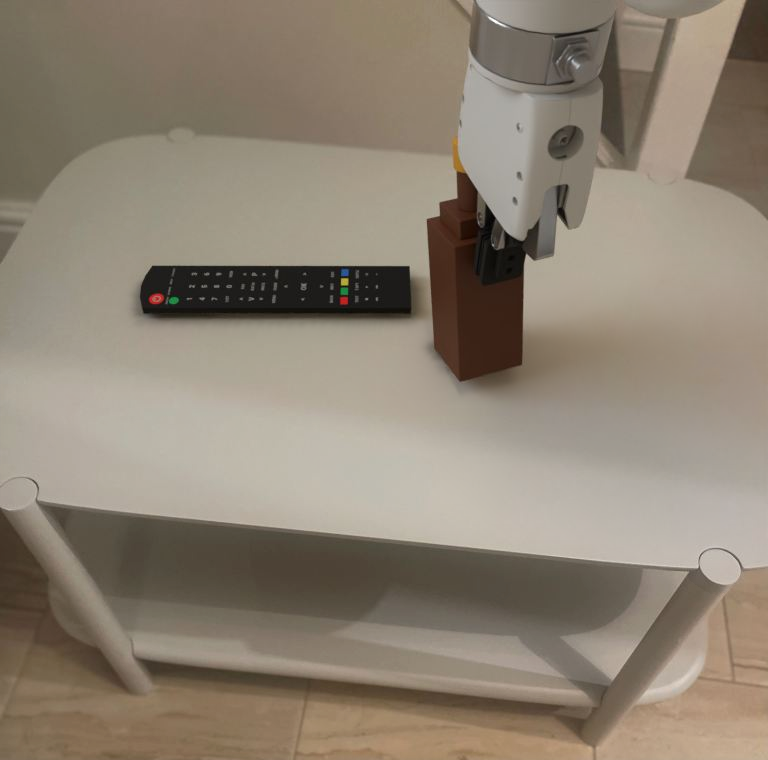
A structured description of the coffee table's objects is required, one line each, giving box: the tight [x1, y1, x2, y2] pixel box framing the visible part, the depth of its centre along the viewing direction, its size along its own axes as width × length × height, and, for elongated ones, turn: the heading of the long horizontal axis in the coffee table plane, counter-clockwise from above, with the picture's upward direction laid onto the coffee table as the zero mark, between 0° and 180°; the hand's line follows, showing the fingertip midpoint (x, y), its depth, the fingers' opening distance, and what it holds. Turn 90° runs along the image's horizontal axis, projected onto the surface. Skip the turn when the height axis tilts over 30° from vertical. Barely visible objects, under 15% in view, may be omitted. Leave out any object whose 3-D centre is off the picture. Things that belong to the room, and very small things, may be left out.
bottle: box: [426, 135, 525, 383], centre depth 61 cm, size 6×6×18 cm
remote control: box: [139, 265, 412, 315], centre depth 71 cm, size 5×24×1 cm, turn 91°
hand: (497, 274), depth 58 cm, fingers closed
